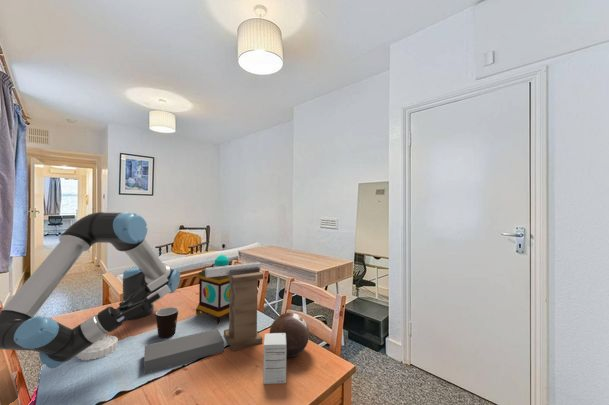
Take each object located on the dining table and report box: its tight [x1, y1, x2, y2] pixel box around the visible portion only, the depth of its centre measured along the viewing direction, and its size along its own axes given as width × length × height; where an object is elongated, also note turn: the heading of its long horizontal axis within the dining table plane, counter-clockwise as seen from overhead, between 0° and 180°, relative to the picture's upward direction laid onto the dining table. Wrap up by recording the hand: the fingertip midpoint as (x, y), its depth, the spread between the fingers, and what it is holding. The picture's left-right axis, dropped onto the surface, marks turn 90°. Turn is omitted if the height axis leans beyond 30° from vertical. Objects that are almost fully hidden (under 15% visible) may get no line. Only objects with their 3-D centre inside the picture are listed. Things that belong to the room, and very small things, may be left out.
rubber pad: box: [143, 328, 225, 374], centre depth 97 cm, size 11×26×4 cm, turn 121°
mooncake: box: [76, 334, 119, 361], centre depth 98 cm, size 12×12×4 cm
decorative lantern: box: [195, 254, 233, 324], centre depth 132 cm, size 20×20×30 cm
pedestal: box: [223, 268, 264, 352], centre depth 108 cm, size 14×12×30 cm
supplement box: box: [262, 332, 287, 385], centre depth 86 cm, size 7×7×13 cm
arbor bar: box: [204, 261, 262, 278], centre depth 106 cm, size 3×22×3 cm, turn 121°
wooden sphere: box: [269, 312, 310, 358], centre depth 98 cm, size 15×15×15 cm
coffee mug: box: [155, 306, 179, 339], centre depth 112 cm, size 12×9×10 cm
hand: (167, 282), depth 94 cm, fingers open, 13 cm apart
